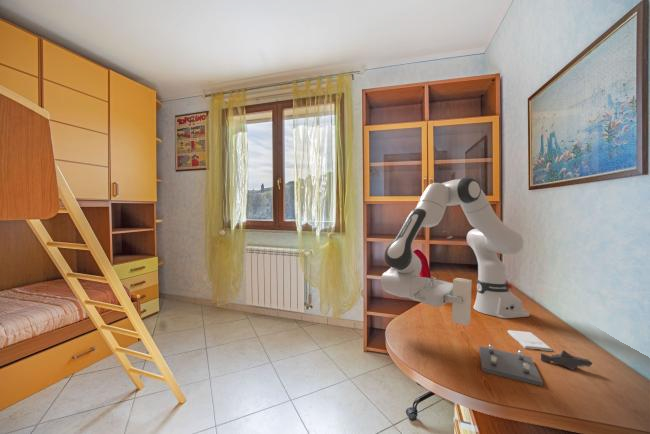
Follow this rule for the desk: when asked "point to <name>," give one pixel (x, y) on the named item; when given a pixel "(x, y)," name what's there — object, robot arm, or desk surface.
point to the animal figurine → (566, 360)
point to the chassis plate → (509, 365)
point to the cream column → (464, 309)
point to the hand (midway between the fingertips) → (464, 298)
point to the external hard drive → (529, 340)
